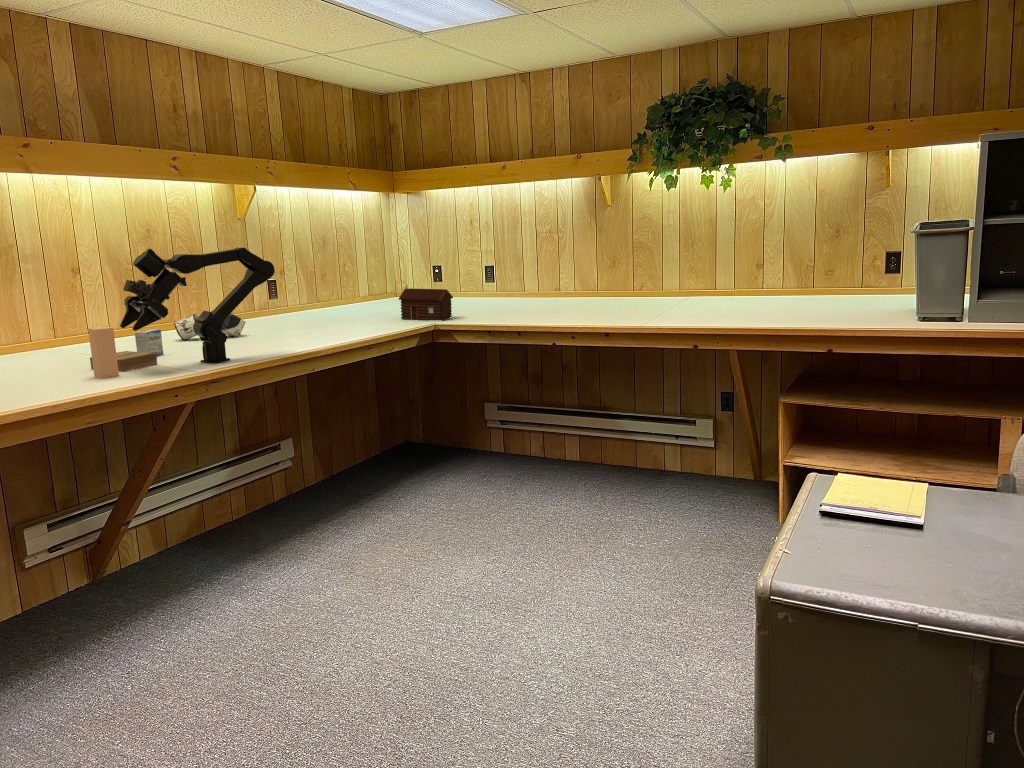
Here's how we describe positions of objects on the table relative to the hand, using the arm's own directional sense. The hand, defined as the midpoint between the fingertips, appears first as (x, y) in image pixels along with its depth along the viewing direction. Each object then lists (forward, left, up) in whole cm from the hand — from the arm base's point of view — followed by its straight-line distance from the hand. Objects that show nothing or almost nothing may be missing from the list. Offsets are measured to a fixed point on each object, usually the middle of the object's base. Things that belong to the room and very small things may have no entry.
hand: (127, 328), depth 230 cm
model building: (-19, -139, -13) cm, 141 cm away
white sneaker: (+31, -61, -13) cm, 70 cm away
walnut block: (+10, -6, -13) cm, 18 cm away
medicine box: (+18, -23, -13) cm, 33 cm away
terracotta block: (+3, +7, -13) cm, 15 cm away
